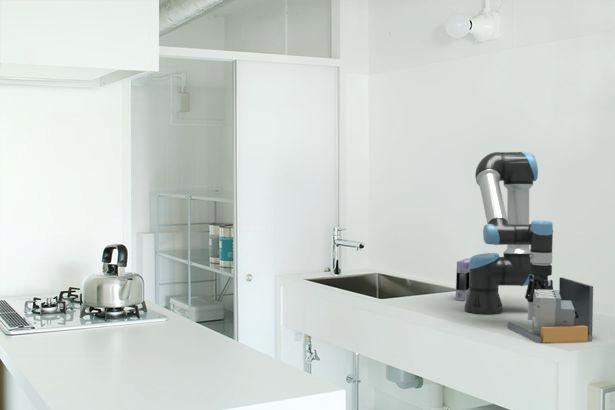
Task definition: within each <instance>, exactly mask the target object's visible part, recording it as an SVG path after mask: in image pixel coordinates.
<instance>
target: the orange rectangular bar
mask: <svg viewBox="0 0 615 410" xmlns="http://www.w3.org/2000/svg"><path fill="white" fill-rule="evenodd" d="M542 342H543V343H542ZM545 342H551V343H550V344H557V343H558V344H559V343H561V344H562V343H582V342H583V343H587V342H589V341H588V327H587V326H555V327H541V343H542V344H546V343H545ZM552 342H553V343H552Z"/></svg>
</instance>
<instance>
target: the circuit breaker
mask: <svg viewBox="0 0 615 410" xmlns="http://www.w3.org/2000/svg"><path fill="white" fill-rule="evenodd" d="M533 302H534V308H535V309H536V312H535V317H533V318H532V320H531V323H532V324H531V330H532V331H531V332H532V333H534V334H536V335H539V336H541V327H555V326H574V318H579V315H578V313H577V311H575V309H574V307H573V304H572V302H571V301H566V300H561V296H560V294H559V290H558V289H553V290H535V289H534V295H533Z"/></svg>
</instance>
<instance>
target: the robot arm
mask: <svg viewBox="0 0 615 410" xmlns="http://www.w3.org/2000/svg"><path fill="white" fill-rule="evenodd" d="M538 174H539V168H538V163H537V158H536V156H535V155H534V154H533V153H532V152H527V151H514V152H513V151H510V152H509V151H505V152H502V151H500V152H499V151H495V152H491V153H489V154H487V155H485V156H484V157H483V158H482V159H481V160H480V161H479V163H478V165H477V166H476V169H475V177H474V178H475V181H476V184H477V186H479V189H480V194H481V195H480V196H481V199H482V204H483V209H484V214H485V219H486V223H487V224H485V225H484V226H483V231H482V234H483V235H482V236H483V237H482V238H483V242H484V243H485V244H486V245H492V246H493V245H495V246H498V245H502V246H504V245H507V247H506V249H505V250H504V251H503V256H500V254H499V253H498V252H497V253H496V252H487V253H486V252H485V253H479V254H475V255H471V257H469V258H470V264H469V294H468V297H467V300H466V301H465V303H464V312H467V313H472V314H477V315H496V314H501V313H503V311H504V310H503V308H504V307H503V303H502V300H501V297H500V293H499V286H501V287H502V286H503V287H504V286H512V287H514V286H517V287H519V286H520V287H524V286H525V287H526V286H527V287H526V292H525V296H524V299H525V300H526V301H527V304H528V305H527V320H528V321H532V318H533V317H535V312H536V309H535V308H534V302H533V295H534V289H535V290H554V286H553V283H554V281H553V280H552V279H549V278H548V277H549V276H552V273H553V266H552V264H553V243H554V241H553V237H554V236H553V235H554V234H553V233H554V225H553V222H552V221H550V220H532V221H531V223H530V189H531V188H532V187H534V186H533V185H534V182H536V181H537V179H538V176H539V175H538ZM500 182H503V186H504V188H505V189H506V191H507V196H506V197H507V198H506V199H507V200H506V201H507V205H506V206H507V207H506V208H507V210H506V208H505V204H504V199H503V195H502V190H501V186H500Z"/></svg>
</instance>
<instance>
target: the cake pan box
mask: <svg viewBox="0 0 615 410" xmlns="http://www.w3.org/2000/svg"><path fill="white" fill-rule="evenodd" d="M470 258H471V257H467V258H463V259H461V260H457V262H456V277H455V278H456V280H455V281H456V282H455V301H459V302H466V300H467V297H468V294H469V264H470Z"/></svg>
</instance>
